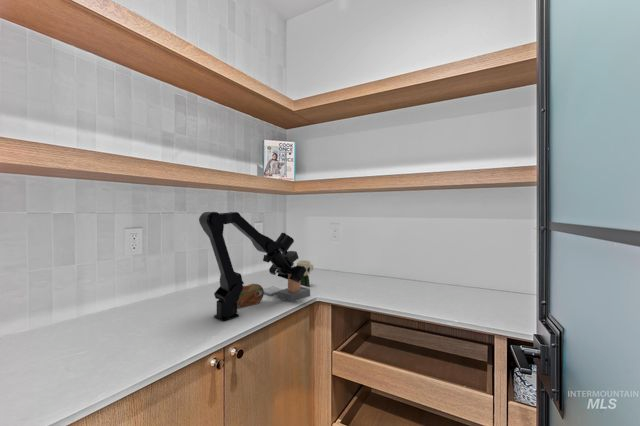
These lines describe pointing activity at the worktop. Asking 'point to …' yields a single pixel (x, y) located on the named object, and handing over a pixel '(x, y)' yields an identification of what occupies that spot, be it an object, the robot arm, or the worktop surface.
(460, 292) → the worktop surface
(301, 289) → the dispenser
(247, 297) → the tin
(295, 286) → the tan rectangular block
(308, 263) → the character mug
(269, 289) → the mat
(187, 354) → the worktop surface
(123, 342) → the worktop surface
